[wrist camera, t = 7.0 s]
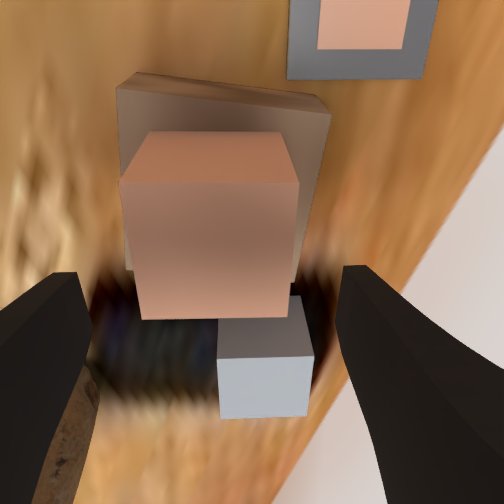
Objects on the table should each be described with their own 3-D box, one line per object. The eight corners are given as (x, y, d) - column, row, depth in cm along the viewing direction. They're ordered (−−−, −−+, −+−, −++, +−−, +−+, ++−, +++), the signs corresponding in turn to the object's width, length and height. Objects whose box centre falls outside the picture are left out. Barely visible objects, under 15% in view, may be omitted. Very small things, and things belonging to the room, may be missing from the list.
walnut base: (142, 227, 22) (126, 269, 18) (138, 71, 17) (116, 88, 14) (284, 240, 23) (294, 282, 19) (313, 93, 18) (332, 114, 15)
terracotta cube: (163, 243, 18) (142, 319, 13) (149, 131, 15) (118, 183, 11) (273, 242, 18) (287, 317, 14) (280, 131, 15) (299, 183, 11)
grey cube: (222, 353, 27) (220, 418, 23) (219, 296, 24) (216, 359, 20) (295, 351, 27) (306, 416, 23) (300, 295, 24) (314, 356, 20)
